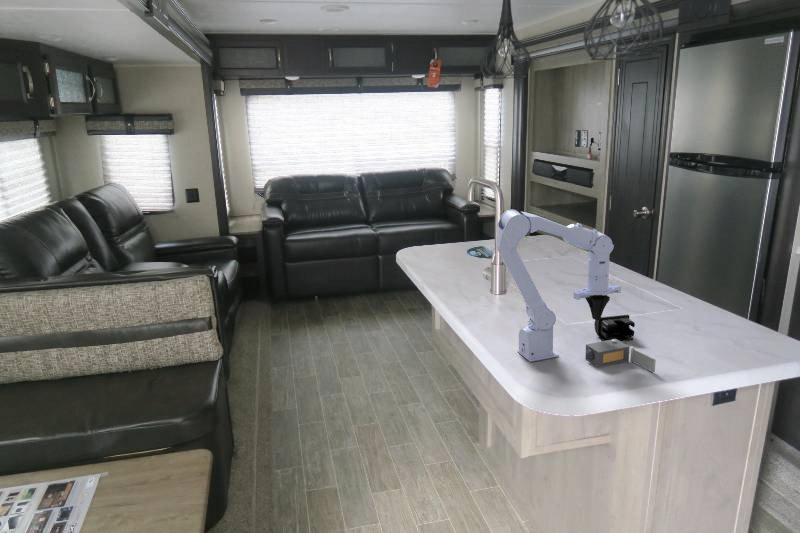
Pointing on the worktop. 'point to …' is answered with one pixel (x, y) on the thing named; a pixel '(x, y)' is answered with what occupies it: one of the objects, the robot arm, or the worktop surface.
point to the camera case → (607, 352)
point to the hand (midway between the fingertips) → (596, 318)
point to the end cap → (614, 328)
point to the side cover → (642, 359)
